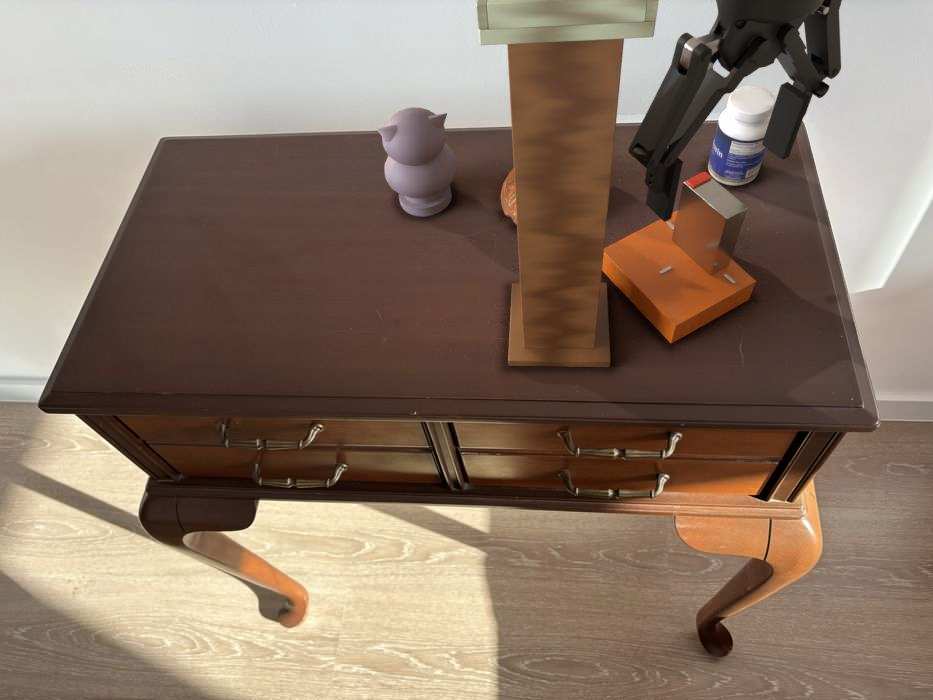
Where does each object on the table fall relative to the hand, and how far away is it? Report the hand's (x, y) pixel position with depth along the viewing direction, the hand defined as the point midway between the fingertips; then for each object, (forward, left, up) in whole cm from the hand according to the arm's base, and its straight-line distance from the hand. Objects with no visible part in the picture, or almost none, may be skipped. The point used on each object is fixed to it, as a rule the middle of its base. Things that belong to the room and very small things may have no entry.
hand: (717, 180), depth 64 cm
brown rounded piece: (+18, +7, -13) cm, 23 cm away
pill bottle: (+9, -13, -13) cm, 21 cm away
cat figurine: (+27, +19, -13) cm, 35 cm away
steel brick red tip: (0, 0, -10) cm, 10 cm away
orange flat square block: (0, +2, -13) cm, 13 cm away
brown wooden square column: (+2, +16, -13) cm, 20 cm away
